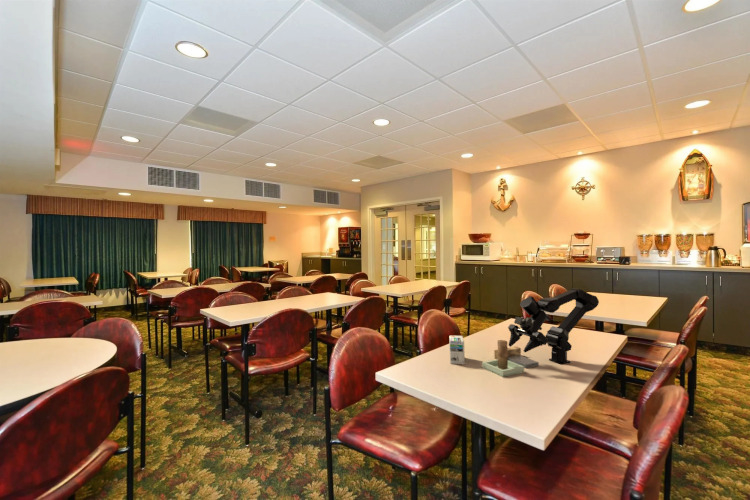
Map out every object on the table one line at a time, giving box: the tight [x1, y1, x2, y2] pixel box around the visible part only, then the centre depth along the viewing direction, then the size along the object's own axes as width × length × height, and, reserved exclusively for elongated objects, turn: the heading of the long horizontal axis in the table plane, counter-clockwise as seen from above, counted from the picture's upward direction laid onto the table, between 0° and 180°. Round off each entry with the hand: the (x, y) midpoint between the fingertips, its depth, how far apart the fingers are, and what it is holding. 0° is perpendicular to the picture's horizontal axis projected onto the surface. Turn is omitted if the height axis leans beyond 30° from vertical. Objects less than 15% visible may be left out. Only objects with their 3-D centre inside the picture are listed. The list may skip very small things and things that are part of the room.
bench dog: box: [493, 346, 522, 360], centre depth 159 cm, size 14×3×4 cm, turn 114°
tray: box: [482, 359, 525, 378], centre depth 143 cm, size 12×12×2 cm
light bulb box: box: [448, 334, 466, 365], centre depth 156 cm, size 11×7×11 cm, turn 168°
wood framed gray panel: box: [508, 355, 540, 369], centre depth 152 cm, size 8×12×2 cm, turn 22°
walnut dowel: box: [497, 339, 508, 370], centre depth 143 cm, size 4×4×12 cm
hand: (516, 348), depth 145 cm, fingers open, 9 cm apart
